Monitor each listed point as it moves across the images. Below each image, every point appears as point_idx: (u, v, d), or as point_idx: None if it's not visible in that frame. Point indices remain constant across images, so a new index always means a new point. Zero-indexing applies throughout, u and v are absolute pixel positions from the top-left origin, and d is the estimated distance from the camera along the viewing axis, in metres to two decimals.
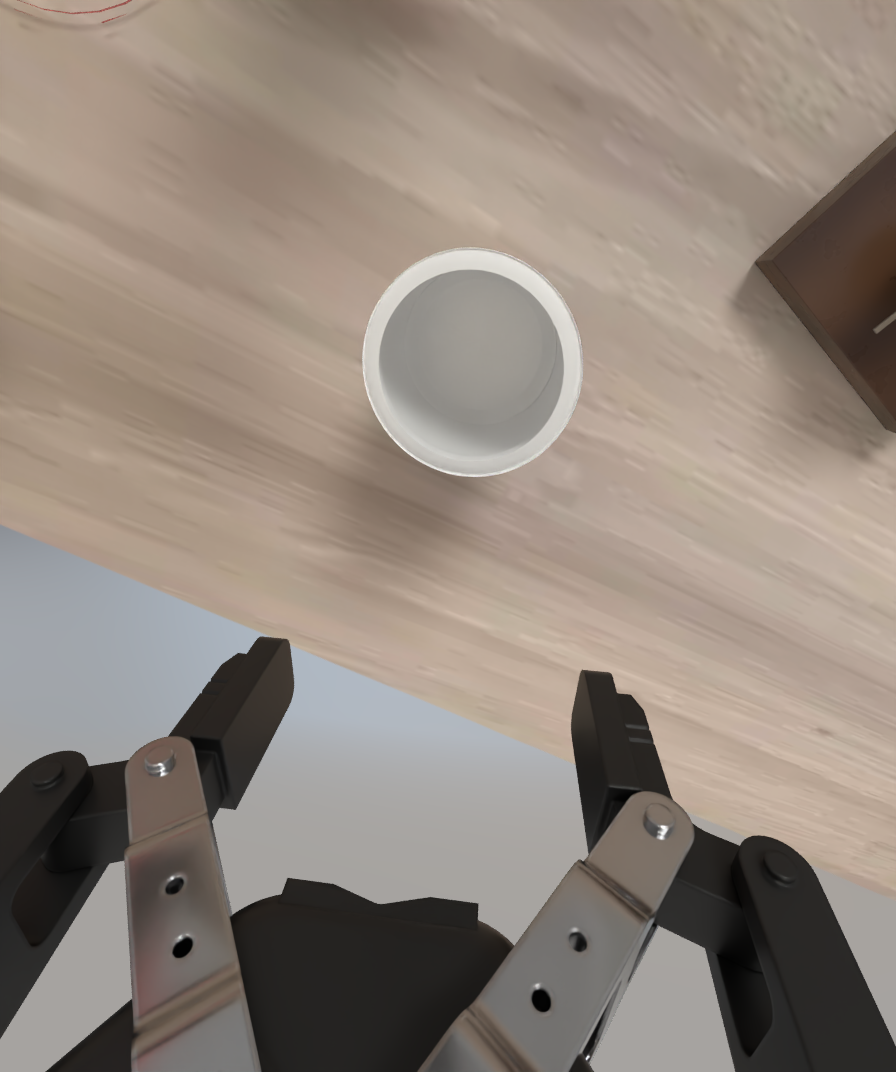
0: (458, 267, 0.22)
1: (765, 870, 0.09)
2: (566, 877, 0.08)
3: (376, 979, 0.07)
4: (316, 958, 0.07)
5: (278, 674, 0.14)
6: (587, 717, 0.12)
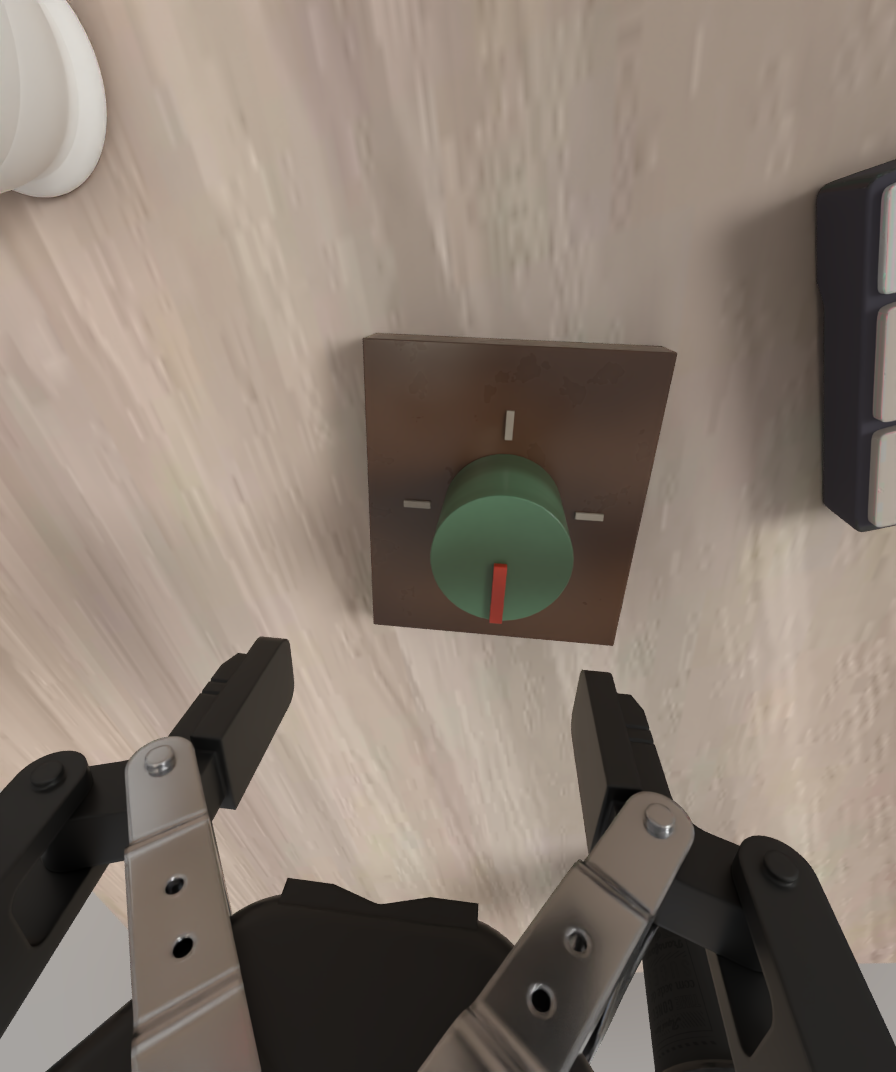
0: None
1: (765, 870, 0.09)
2: (566, 876, 0.08)
3: (376, 979, 0.07)
4: (316, 958, 0.07)
5: (278, 674, 0.14)
6: (587, 717, 0.12)
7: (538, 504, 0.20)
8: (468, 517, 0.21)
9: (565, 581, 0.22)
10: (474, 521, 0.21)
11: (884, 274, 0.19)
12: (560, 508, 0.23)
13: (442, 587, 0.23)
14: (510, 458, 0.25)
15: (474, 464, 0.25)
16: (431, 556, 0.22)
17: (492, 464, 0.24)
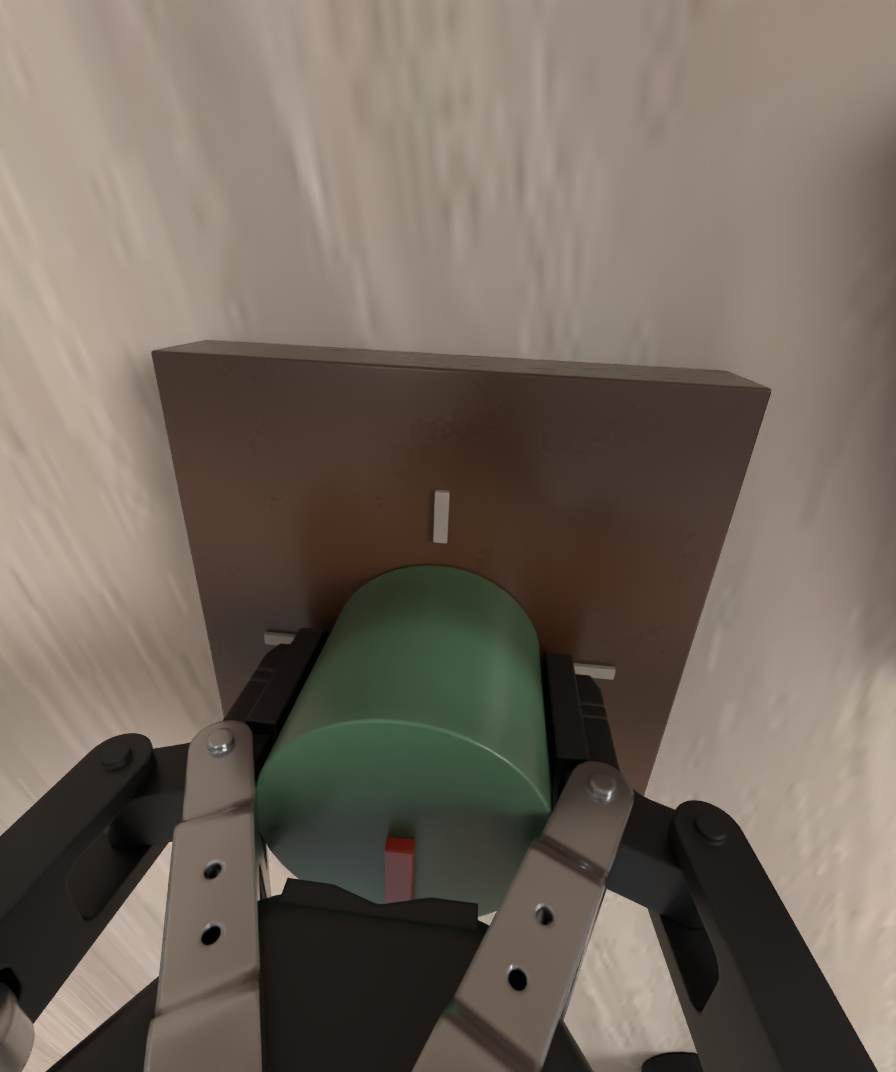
0: None
1: (696, 830, 0.09)
2: (525, 856, 0.08)
3: (376, 979, 0.07)
4: (316, 958, 0.07)
5: None
6: (546, 696, 0.13)
7: (476, 740, 0.09)
8: (322, 756, 0.09)
9: None
10: (336, 763, 0.09)
11: None
12: (531, 703, 0.11)
13: (288, 865, 0.11)
14: (442, 579, 0.13)
15: (376, 586, 0.13)
16: None
17: (403, 598, 0.12)
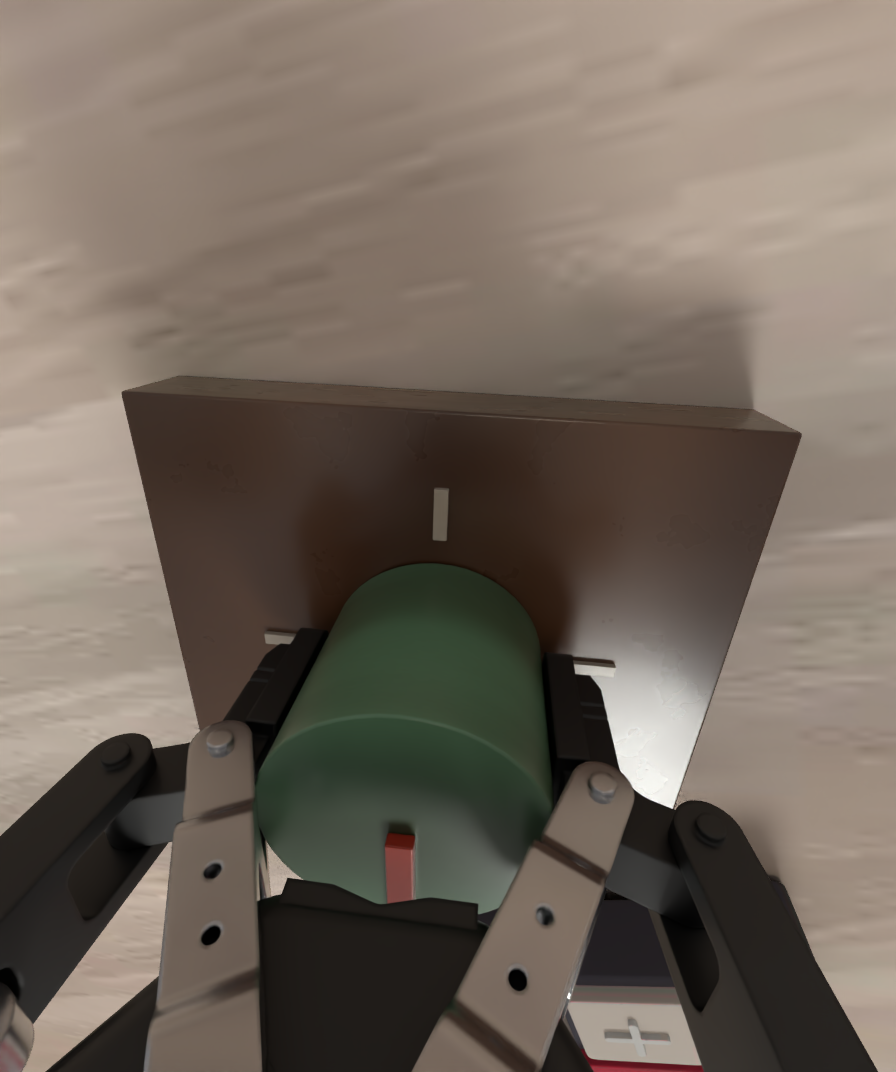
0: None
1: (696, 830, 0.09)
2: (526, 856, 0.08)
3: (376, 979, 0.07)
4: (316, 958, 0.07)
5: None
6: (546, 696, 0.13)
7: (473, 734, 0.09)
8: (320, 752, 0.09)
9: None
10: (335, 759, 0.09)
11: None
12: (530, 698, 0.11)
13: (290, 863, 0.11)
14: (440, 577, 0.13)
15: (375, 585, 0.13)
16: None
17: (402, 595, 0.12)
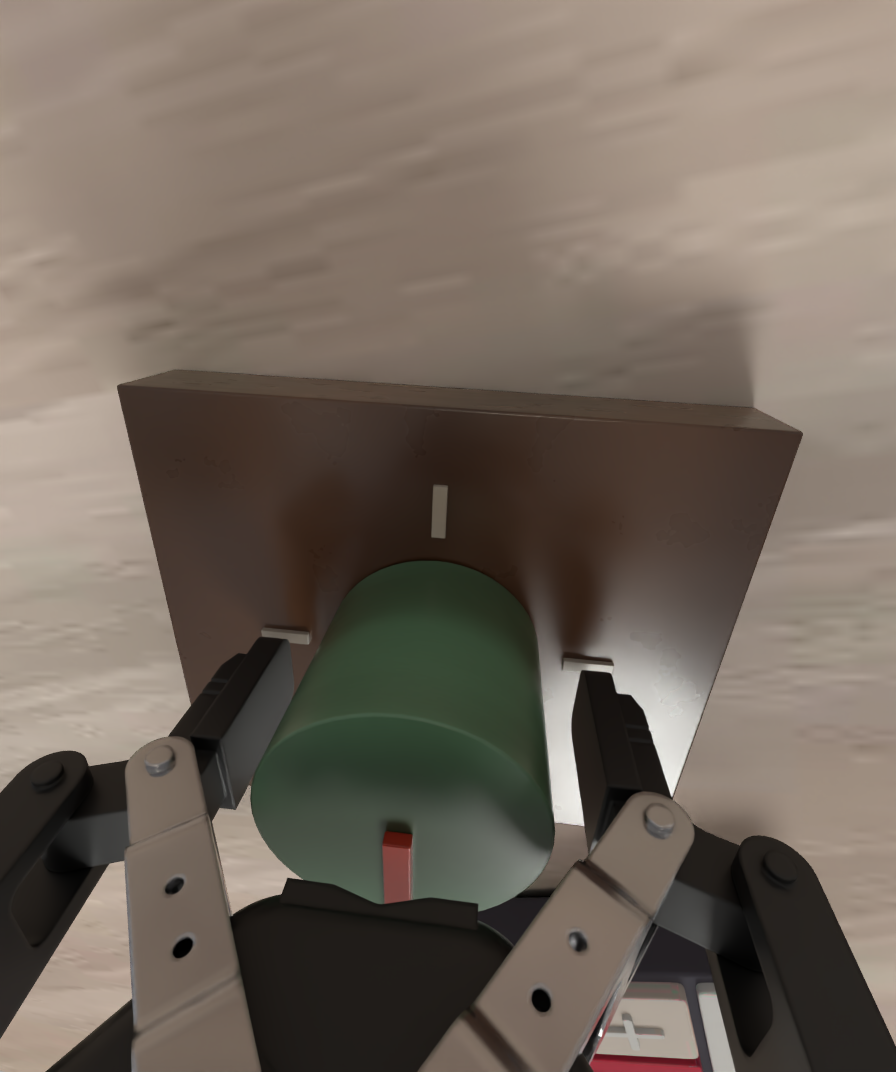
0: None
1: (765, 870, 0.09)
2: (566, 876, 0.08)
3: (376, 979, 0.07)
4: (316, 958, 0.07)
5: (279, 674, 0.14)
6: (587, 717, 0.12)
7: (472, 734, 0.09)
8: (318, 751, 0.09)
9: (538, 867, 0.10)
10: (333, 758, 0.09)
11: None
12: (529, 697, 0.11)
13: (287, 861, 0.11)
14: (439, 574, 0.13)
15: (373, 582, 0.13)
16: (253, 812, 0.10)
17: (400, 593, 0.12)
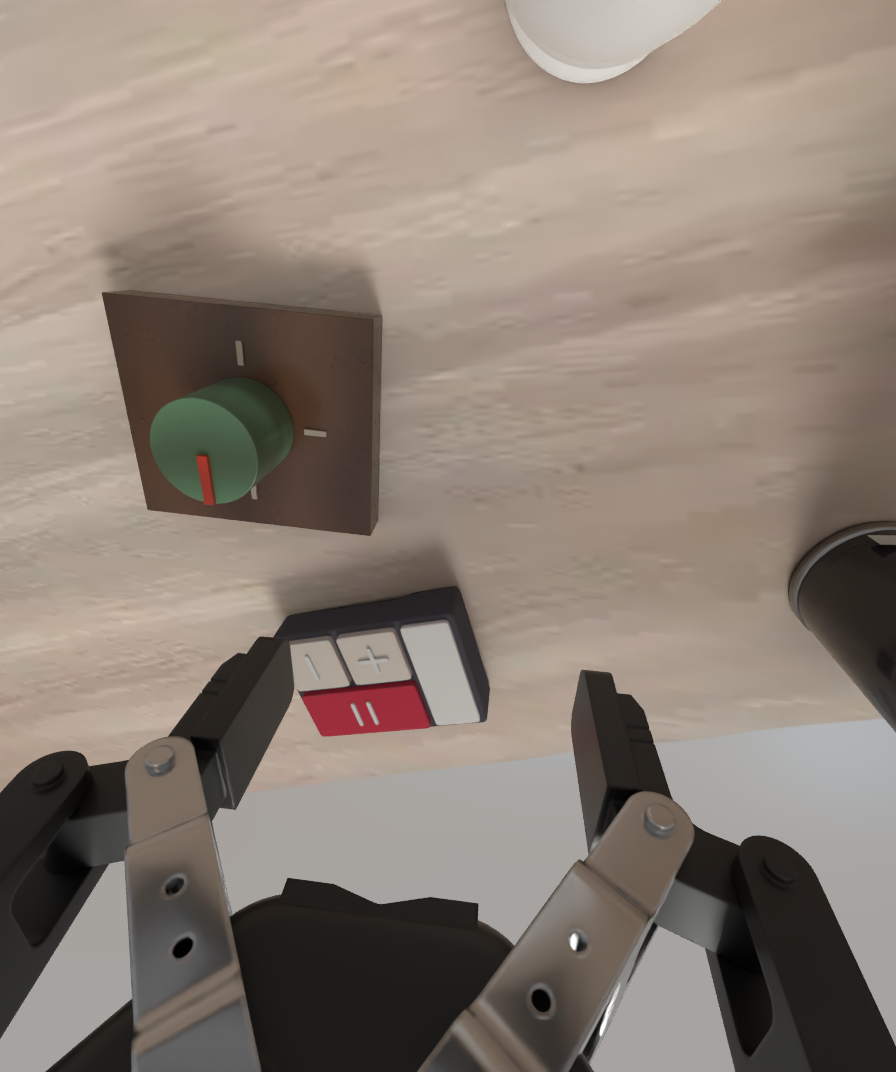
0: None
1: (765, 870, 0.09)
2: (566, 876, 0.08)
3: (376, 979, 0.07)
4: (316, 958, 0.07)
5: (278, 674, 0.14)
6: (587, 717, 0.12)
7: (220, 405, 0.27)
8: (171, 415, 0.27)
9: (255, 470, 0.28)
10: (176, 418, 0.27)
11: (409, 627, 0.38)
12: (260, 415, 0.29)
13: (165, 474, 0.29)
14: (239, 379, 0.31)
15: None
16: (151, 448, 0.28)
17: (218, 382, 0.30)
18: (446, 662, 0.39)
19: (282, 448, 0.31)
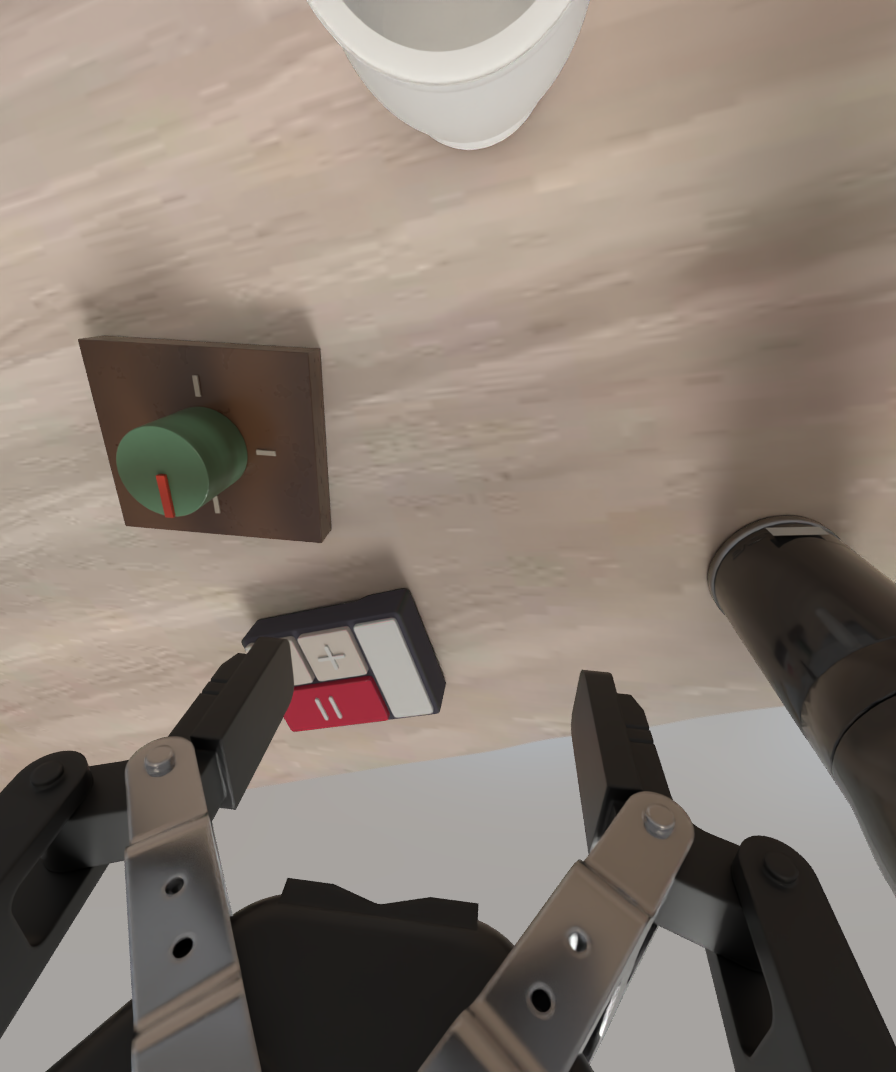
0: None
1: (765, 870, 0.09)
2: (566, 876, 0.08)
3: (376, 979, 0.07)
4: (316, 958, 0.07)
5: (279, 674, 0.14)
6: (587, 717, 0.12)
7: (173, 431, 0.31)
8: (133, 441, 0.32)
9: (206, 486, 0.33)
10: (137, 444, 0.32)
11: (361, 625, 0.41)
12: (211, 439, 0.33)
13: (131, 492, 0.33)
14: (196, 409, 0.35)
15: None
16: (118, 470, 0.33)
17: (177, 412, 0.35)
18: (397, 657, 0.42)
19: (236, 467, 0.36)
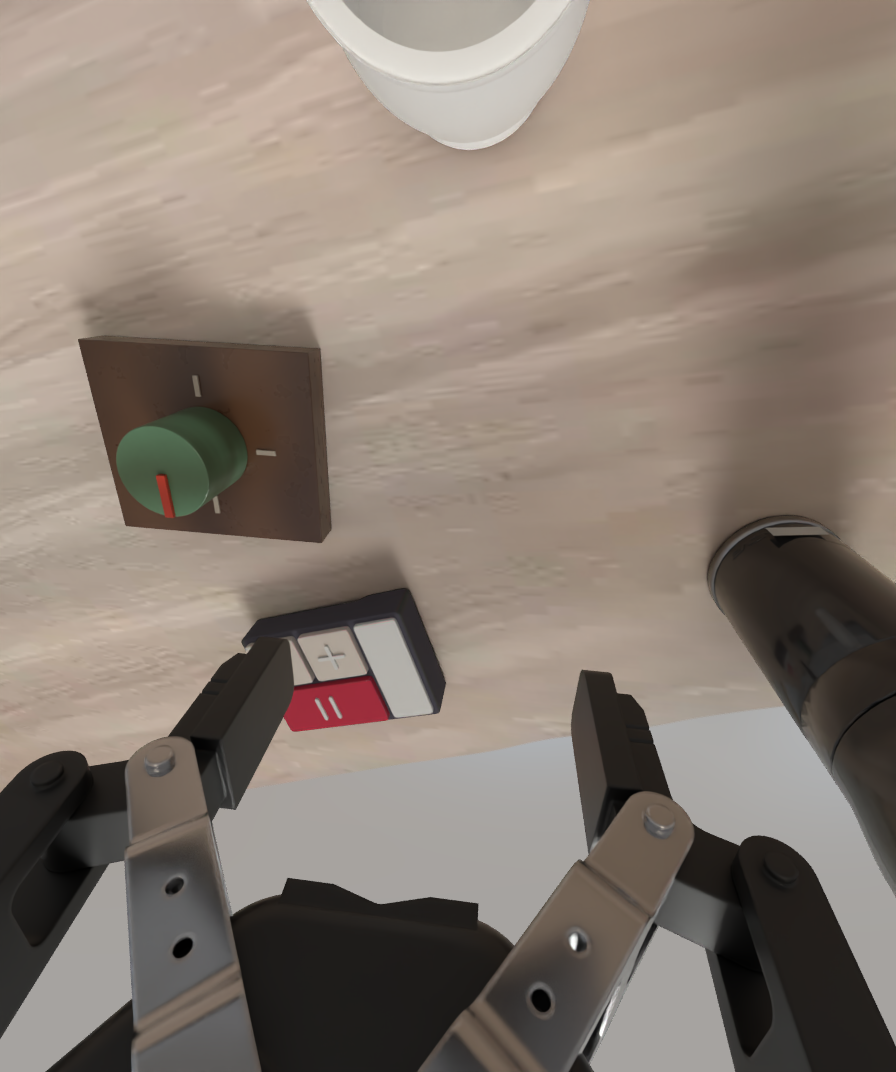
0: None
1: (765, 870, 0.09)
2: (566, 876, 0.08)
3: (376, 979, 0.07)
4: (316, 958, 0.07)
5: (279, 674, 0.14)
6: (587, 717, 0.12)
7: (173, 432, 0.31)
8: (133, 441, 0.32)
9: (206, 486, 0.33)
10: (137, 444, 0.32)
11: (361, 625, 0.41)
12: (211, 439, 0.33)
13: (131, 492, 0.33)
14: (196, 409, 0.35)
15: None
16: (118, 470, 0.33)
17: (177, 412, 0.35)
18: (397, 657, 0.42)
19: (236, 467, 0.36)
